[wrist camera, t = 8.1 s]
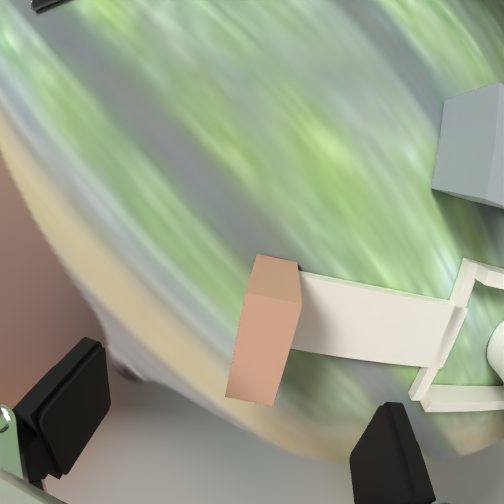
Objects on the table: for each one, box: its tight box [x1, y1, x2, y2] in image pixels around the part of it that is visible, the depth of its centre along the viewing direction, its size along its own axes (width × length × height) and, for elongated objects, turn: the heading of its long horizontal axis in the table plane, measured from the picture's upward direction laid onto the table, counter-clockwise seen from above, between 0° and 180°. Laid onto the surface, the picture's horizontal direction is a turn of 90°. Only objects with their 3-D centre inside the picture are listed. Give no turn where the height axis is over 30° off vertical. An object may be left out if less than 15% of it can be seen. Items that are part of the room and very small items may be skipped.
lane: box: [225, 254, 504, 412], centre depth 17 cm, size 11×26×6 cm, turn 79°
